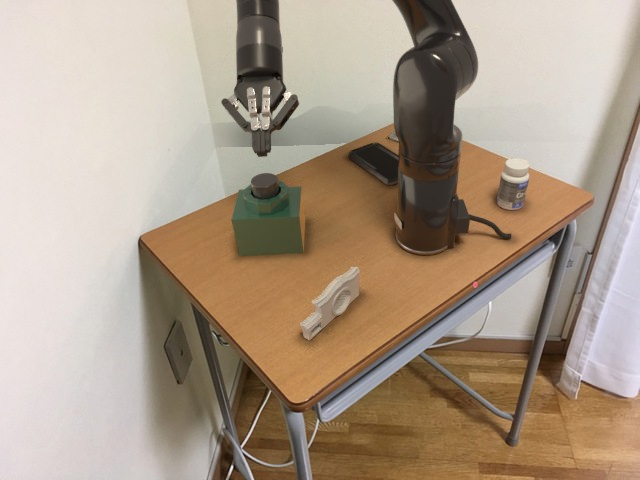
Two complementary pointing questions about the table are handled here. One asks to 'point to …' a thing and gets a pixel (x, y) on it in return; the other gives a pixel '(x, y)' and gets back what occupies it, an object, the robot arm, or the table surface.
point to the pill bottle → (513, 184)
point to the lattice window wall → (332, 302)
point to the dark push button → (265, 186)
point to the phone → (377, 162)
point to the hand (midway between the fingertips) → (262, 155)
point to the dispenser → (269, 222)
